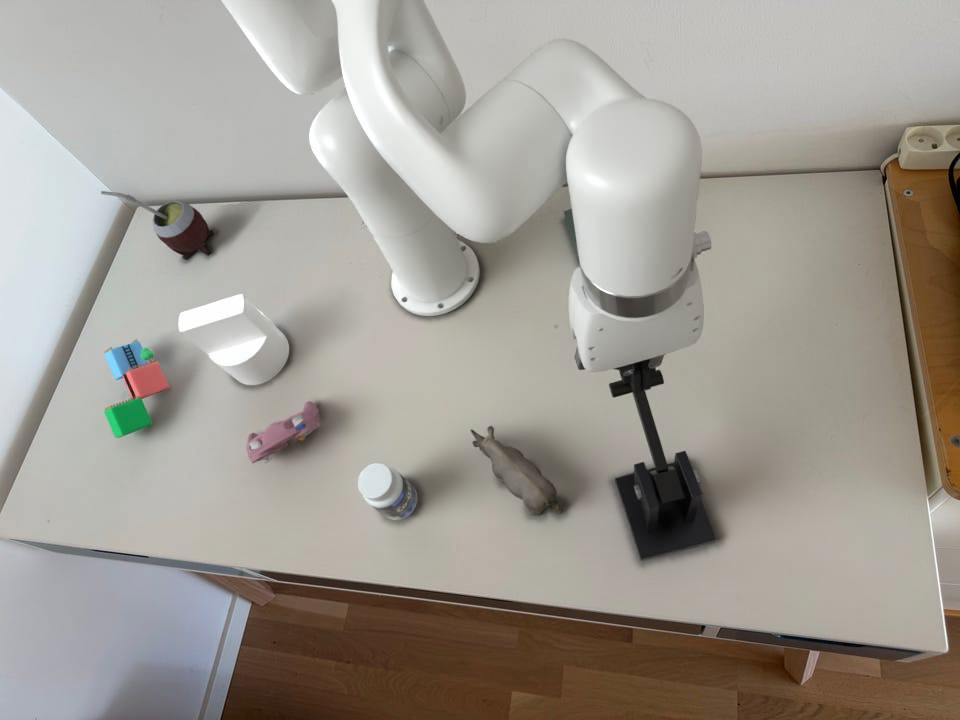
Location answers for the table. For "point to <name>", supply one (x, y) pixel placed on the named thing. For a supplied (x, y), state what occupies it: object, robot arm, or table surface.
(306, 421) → the pink toy car
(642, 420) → the lever
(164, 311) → the table surface
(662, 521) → the bracket
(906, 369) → the table surface
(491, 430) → the rhino figurine
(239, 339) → the white rounded block
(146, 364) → the building blocks
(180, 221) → the mate gourd
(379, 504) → the pill bottle
